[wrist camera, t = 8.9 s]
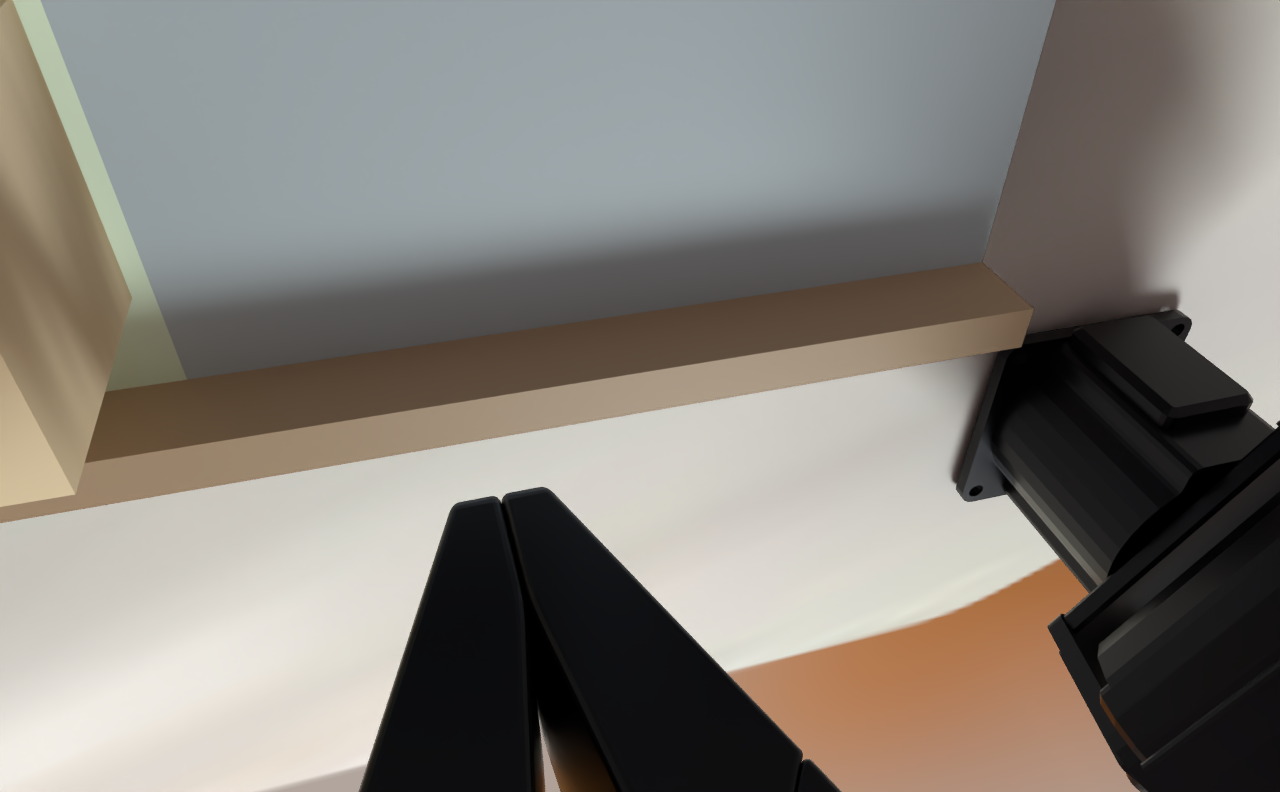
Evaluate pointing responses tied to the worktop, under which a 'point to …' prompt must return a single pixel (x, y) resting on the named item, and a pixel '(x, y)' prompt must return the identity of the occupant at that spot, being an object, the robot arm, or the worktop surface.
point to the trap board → (520, 212)
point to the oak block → (48, 288)
